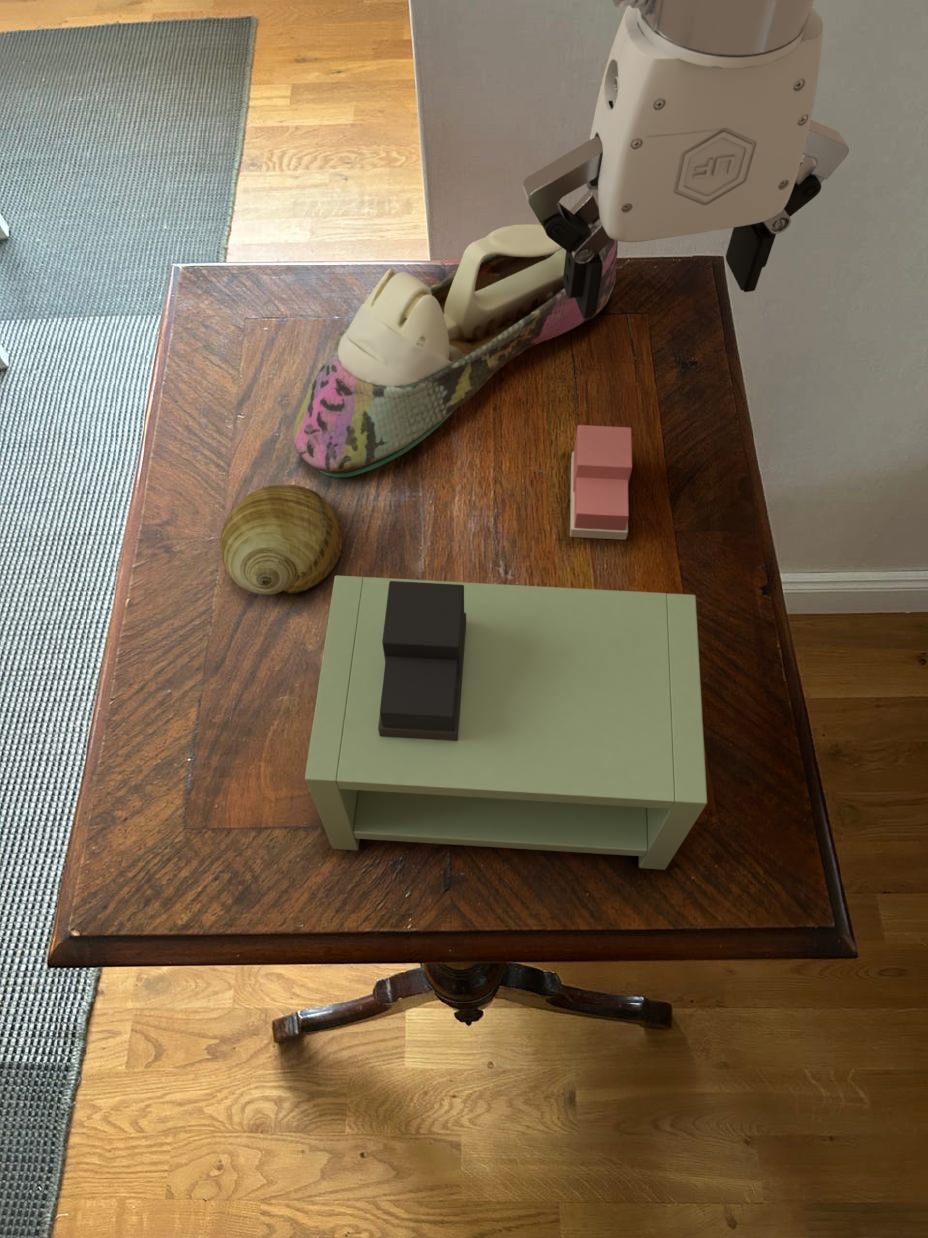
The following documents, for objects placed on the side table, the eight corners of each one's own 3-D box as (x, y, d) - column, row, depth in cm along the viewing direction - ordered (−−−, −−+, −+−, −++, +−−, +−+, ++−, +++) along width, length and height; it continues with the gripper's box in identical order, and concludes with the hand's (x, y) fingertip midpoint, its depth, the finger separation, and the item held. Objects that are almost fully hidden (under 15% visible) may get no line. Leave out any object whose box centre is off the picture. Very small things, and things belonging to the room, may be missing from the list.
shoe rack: (659, 688, 66) (695, 594, 56) (665, 870, 60) (707, 803, 50) (355, 670, 67) (334, 574, 56) (332, 849, 61) (304, 779, 50)
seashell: (292, 541, 77) (207, 485, 72) (358, 491, 73) (274, 430, 68) (290, 640, 70) (196, 587, 65) (362, 591, 67) (270, 531, 62)
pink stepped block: (571, 459, 75) (576, 422, 72) (624, 461, 75) (632, 424, 72) (569, 537, 72) (575, 502, 68) (626, 540, 72) (634, 505, 68)
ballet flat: (259, 423, 77) (230, 317, 68) (557, 247, 86) (568, 132, 77) (341, 511, 73) (322, 410, 64) (643, 316, 82) (666, 203, 73)
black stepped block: (392, 617, 55) (387, 576, 51) (466, 621, 55) (466, 580, 51) (379, 736, 51) (372, 702, 48) (457, 741, 51) (457, 707, 48)
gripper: (559, 62, 42) (534, 358, 57) (948, 9, 43) (824, 310, 58) (515, -37, 45) (502, 266, 60) (876, -82, 47) (777, 224, 62)
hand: (661, 288), depth 59 cm, fingers open, 9 cm apart
